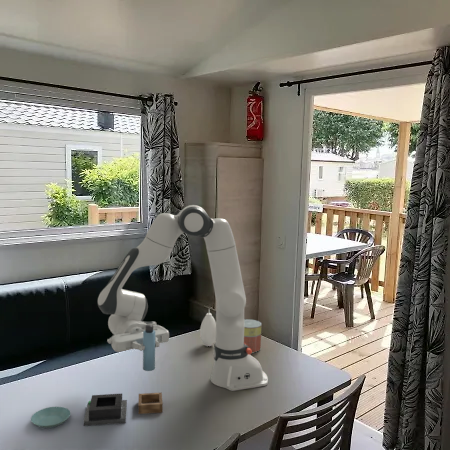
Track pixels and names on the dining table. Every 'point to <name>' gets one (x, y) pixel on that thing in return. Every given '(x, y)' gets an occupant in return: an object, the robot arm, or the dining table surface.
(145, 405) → the wooden square frame
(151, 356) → the blue bottle
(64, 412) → the saucer
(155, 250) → the robot arm
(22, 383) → the dining table surface
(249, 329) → the canned food
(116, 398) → the port
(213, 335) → the sauce bottle
